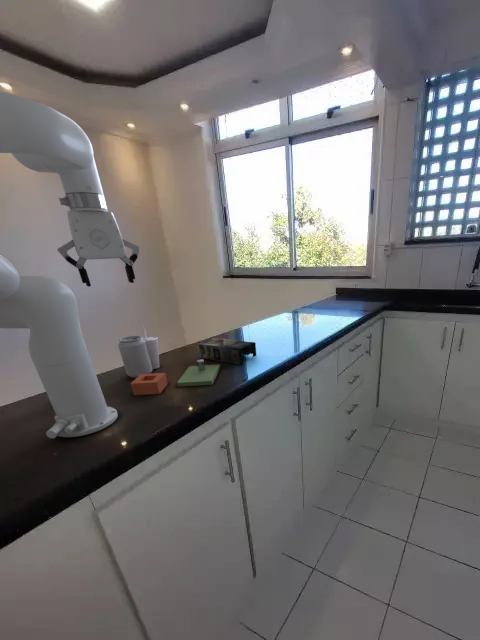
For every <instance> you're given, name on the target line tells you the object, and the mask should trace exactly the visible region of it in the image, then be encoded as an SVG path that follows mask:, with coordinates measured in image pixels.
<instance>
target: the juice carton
mask: <svg viewBox="0 0 480 640" xmlns="http://www.w3.org/2000/svg"><path fill="white" fill-rule="evenodd" d="M256 345H257V343H256V342H255V341H246V340H245V341H244V340H236V339H226V338H219V337H212V338H210V339H209V338H208V339H206V340H204V341H202V342H200V343H197V348H198V349H197V350H198V354H199V355H198V356H199V359H200V360H201V359H202V360H210V361H214V362H215V361H216V362H220V363H225V364H231V365H237V366H242V365H243V356H247V357H248V356H249V355H252V358H255V357H257V348H256Z"/></svg>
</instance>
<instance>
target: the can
mask: <svg viewBox="0 0 480 640" xmlns="http://www.w3.org/2000/svg"><path fill="white" fill-rule="evenodd" d="M142 338H143V337H142V336H141V335H130V336H129V335H128V336H124V337H121V338H119V339H118V341H119V343H118V344H117V345H118V346H117V347H118V350H119V353H120V358H121V360H122V363H123V367H124V369H125V373H126V375H127V376H128V377H130V378H132V379H136V378H137V377H138V376H139V375H141V374H152V372H153V369H152V366H151V362H150V358H149V354H148V351H147V347H146V343H145V341H144V340H143V339H142Z"/></svg>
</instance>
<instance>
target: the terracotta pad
mask: <svg viewBox="0 0 480 640" xmlns="http://www.w3.org/2000/svg"><path fill="white" fill-rule="evenodd" d="M167 378H168V377H167V375H166V372H156V373H155V372H154V373H150V374H141V375H139V376H138V377H137V378H134V380H133V381H132V382H130V387H131V390H132V394H133V396H145V395H160V394H161V393H162V392H163V390H164V389H166V387H167V386H168V384H169V383H168V382H169V381H168V379H167Z"/></svg>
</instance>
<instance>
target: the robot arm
mask: <svg viewBox="0 0 480 640" xmlns="http://www.w3.org/2000/svg"><path fill="white" fill-rule="evenodd" d="M0 154H10V155H12V156H13V157H14V159H15V160H16V161H17V162H19V163H20V164H21V165H22V166H24V167H25V168H28V169H29V170H32V171H33V172H37V173H49V174H51V173H52V174H57V175H58V176H59V178H60V182H61V185H62V188H63V191H64V194H65V196H64V197H59V198H58V200H59V203H60V205H61V206H65V207H67V208H68V209H69V210H68V211H67V212H66V213H67V221H68V225H69V230H70V234H71V240H69V241H68V242H67V243H65V244H63V245H61V246H59V247H57V249H56V250H57V252H58V253H59V255H61V257H63V259H64V260H65V261H66V262H68V263H69V264H70V265H71V266H73V267H75V268H76V269H77V270H78V273H79V276H80V280H81V282H82V284H85V285H86V287H91V286H92V284H91V281H90V277H89V275H88V272H87V269H86V268H85V263H86V262H87V260H110V259H111V260H112V259H119V260H120V261H122V262H123V263H124V264H125V265H124V269H125V273H126V277H127V282H128V283H131V284H134V283H135V280H136V276H135V271H134V267H133V266H134V264H135V263H136V261H137V260H138V256H139V253H140V246H138V245H136V244H134V243H132V242H130V241H127V240H125V239H123V236H122V233H121V231H120V228H119V225H118V222H117V219H116V217H115V215H114V213H113V212H112V211H109V210H108V205H107V202H106V198H105V194H104V189H103V187H102V183H101V178H100V175H99V171H98V168H97V164H96V160H95V157H94V156H95V155H94V148H93V144H92V143H91V140H90V138H89V136H88V135H87V133H86V132H85V131H84V130H83V128H82V127H81V126H80V125H79V124H78V123H76V122H75V121H74V120H73V119H72V118H70V117H68V116H67V115H65V114H63V113H61V112H60V111H58V110H57V109H54V108H52V107H50V106H48V105H46V104H44V103H41V102H39V101H36V100H33V99H30V98H26V97H23V96H20V95H16V94H12V93H9V92H5V91H2V90H0ZM73 248H74V249H75V252H76V253H77V256H78V259H77V260H75V259H74V258H72V257H71V256H70V255H69V253H68V251H69V250H71V249H73ZM126 248H128V249H130V250H131V251H132V252H131V255H130V256H129V257H128V256H127V249H126ZM0 329H9V330H10V329H27V330H28V329H29V339H28V352H29V356H30V359H31V361H32V364H33V365H34V368H35V370H36V372H37V375H38V377H39V379H40V381H41V384H42V386H43V388H44V390H45V392H46V395H47V398H48V399H49V403H50V404H51V406H52V408H53V411H54V413H55V416H54V417H53V419H54V421H55V422H54V424H53V426H52V427H50V428H49V429H48V430H47V431H46V432H45V435H46V437H47V438H49V439H56V438H58V437H59V438H60V437H61V438H77V437H82V436H87V435H91V434H95V433H97V432H99V431H102V430H104V429H106V428H107V427H109V426H111V425H112V424H113V423H114V422H115V421H116V420H117V419H118V418H119V413H118V410H117V409H116V408H114V407H111V406H108V404H107V402H106V399H105V396H104V393H103V391H102V388H101V385H100V382H99V378H98V376H97V373H96V369H95V367H94V365H93V362H92V359H91V357H90V354H89V350H88V348H87V345H86V341H85V338H84V335H83V331H82V327H81V321H80V314H79V305H78V301H77V298H76V295H75V293H74V292H73V290H71V288H70V287H69V285H66V284H65V282H62V281H61V280H58V279H56V278H54V277H50V276H43V275H20V274H19V272H18V270H17V268H16V267H15V266H14V264H12V263H11V262H10V261H9V259H8V258H6V257H5V256H4V255H2V254H1V253H0Z"/></svg>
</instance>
